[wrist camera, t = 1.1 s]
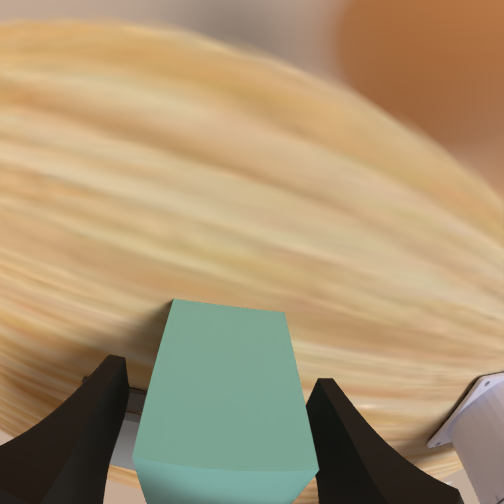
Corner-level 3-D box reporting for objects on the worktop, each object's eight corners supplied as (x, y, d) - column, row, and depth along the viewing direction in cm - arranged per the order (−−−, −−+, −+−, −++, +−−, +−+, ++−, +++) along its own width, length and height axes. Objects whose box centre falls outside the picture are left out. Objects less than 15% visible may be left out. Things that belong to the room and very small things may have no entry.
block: (284, 312, 12) (319, 469, 6) (263, 385, 14) (277, 518, 8) (173, 298, 12) (132, 457, 6) (171, 375, 14) (148, 509, 7)
